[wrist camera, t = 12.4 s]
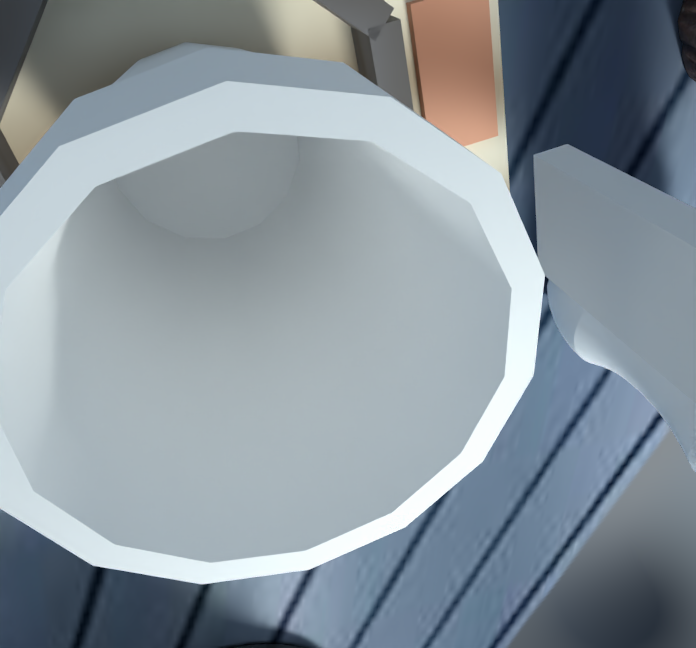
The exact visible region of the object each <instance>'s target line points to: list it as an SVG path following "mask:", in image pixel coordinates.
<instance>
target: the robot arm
mask: <svg viewBox="0 0 696 648" xmlns="http://www.w3.org/2000/svg"><path fill="white" fill-rule="evenodd" d="M533 159H534V182H535V205H536V227H537V250H538V260H539V262H540V264H541V267H542V269H543V271H544V274H545V276H546V277H547V278H548V279H550V280H551V281H552V282H553V283H554V284H555V285H557V286H558V287H559V288H560V289H561V290H562V291H564V292H565V293H566V294H567V295H568V296H570V297H571V298H572V299H573V300H574V301H575V302H577V303H578V304H579V305H580V306H581V307H583V308H584V309H585V310H586V311H587V312H588V313H590V314H591V315H592V316H593V317H594V318H595V319H597V320H598V321H599V322H600V323H601V324H603V325H604V326H605V327H606V328H607V329H608V330H610V331H611V332H612V333H613V334H614V335H615V336H617V337H618V338H619V339H620V340H621V341H623V342H624V343H625V344H626V345H627V346H628V347H630V348H631V349H632V350H633V351H634V352H635V353H637V354H638V355H639V356H640V357H641V358H643V359H644V360H645V361H646V362H647V363H648V364H650V365H651V366H652V367H653V368H654V369H656V370H657V371H658V372H659V373H660V374H661V375H663V376H664V377H665V378H666V379H667V380H668V381H670V382H671V383H672V384H673V385H674V386H676V387H677V388H678V389H679V390H680V391H681V392H683V393H684V394H685V395H686V396H687V397H688V398H690V399H691V400H692V401H693V402H694V403H696V208H694V207H692V206H690V205H688V204H686V203H684V202H682V201H680V200H678V199H676V198H674V197H672V196H670V195H668V194H666V193H664V192H662V191H660V190H658V189H656V188H654V187H652V186H650V185H648V184H646V183H644V182H642V181H640V180H638V179H636V178H634V177H632V176H630V175H628V174H626V173H624V172H622V171H620V170H618V169H616V168H614V167H612V166H610V165H608V164H606V163H604V162H602V161H600V160H598V159H596V158H594V157H592V156H590V155H588V154H586V153H584V152H582V151H580V150H578V149H577V148H575V147H573V146H571V145H569V144H565V145H562V146H559V147H556V148H553V149H550V150H547V151H544V152H541V153H537V154H534V155H533ZM235 648H301V647H296V646H290V645H279V644H261V645H248V646H241V647H235Z"/></svg>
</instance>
